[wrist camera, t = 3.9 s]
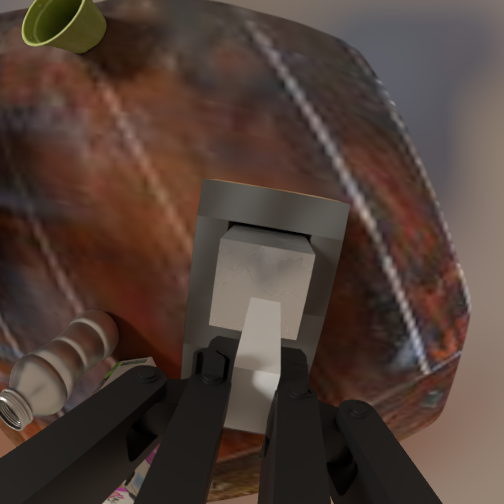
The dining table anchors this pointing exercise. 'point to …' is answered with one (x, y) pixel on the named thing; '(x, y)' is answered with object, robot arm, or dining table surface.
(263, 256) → the peg
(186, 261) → the dining table surface
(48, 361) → the plastic bottle
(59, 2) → the plant pot
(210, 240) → the socket block
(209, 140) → the dining table surface
